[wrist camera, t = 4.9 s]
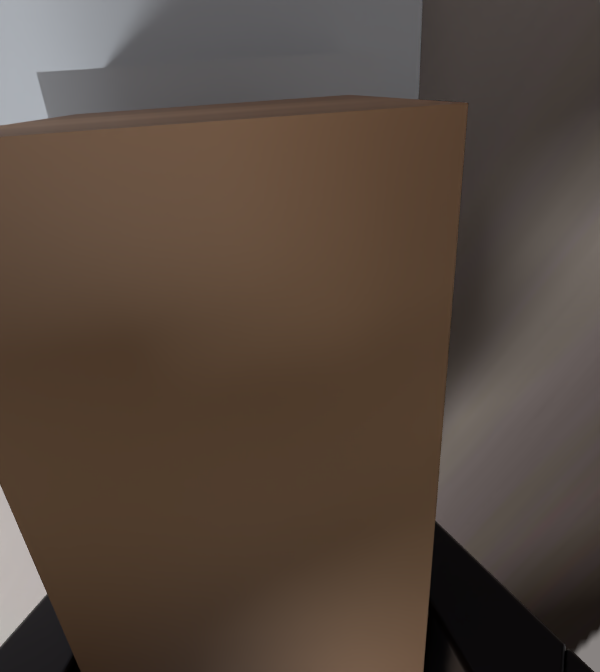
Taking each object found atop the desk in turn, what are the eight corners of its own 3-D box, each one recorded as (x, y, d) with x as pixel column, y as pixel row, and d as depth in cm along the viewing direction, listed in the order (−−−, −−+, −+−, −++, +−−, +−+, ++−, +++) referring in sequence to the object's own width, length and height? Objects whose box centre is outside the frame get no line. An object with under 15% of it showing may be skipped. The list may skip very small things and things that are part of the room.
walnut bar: (358, 656, 12) (405, 899, 8) (210, 675, 12) (192, 932, 8) (349, 94, 7) (468, 101, 3) (76, 114, 6) (-145, 146, 3)
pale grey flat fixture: (394, 532, 18) (431, 647, 14) (132, 562, 17) (101, 689, 13) (411, -27, 10) (497, -87, 7) (-40, -1, 10) (-203, -50, 6)
